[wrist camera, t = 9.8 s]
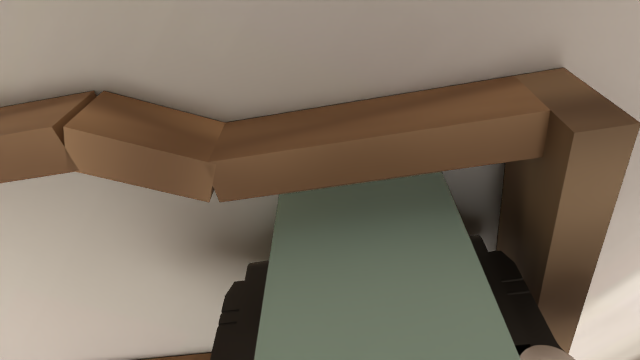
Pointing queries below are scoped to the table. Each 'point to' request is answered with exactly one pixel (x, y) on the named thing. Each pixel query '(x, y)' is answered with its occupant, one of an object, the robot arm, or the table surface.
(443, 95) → the keyhole rail
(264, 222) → the table surface
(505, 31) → the table surface
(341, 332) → the teal block
